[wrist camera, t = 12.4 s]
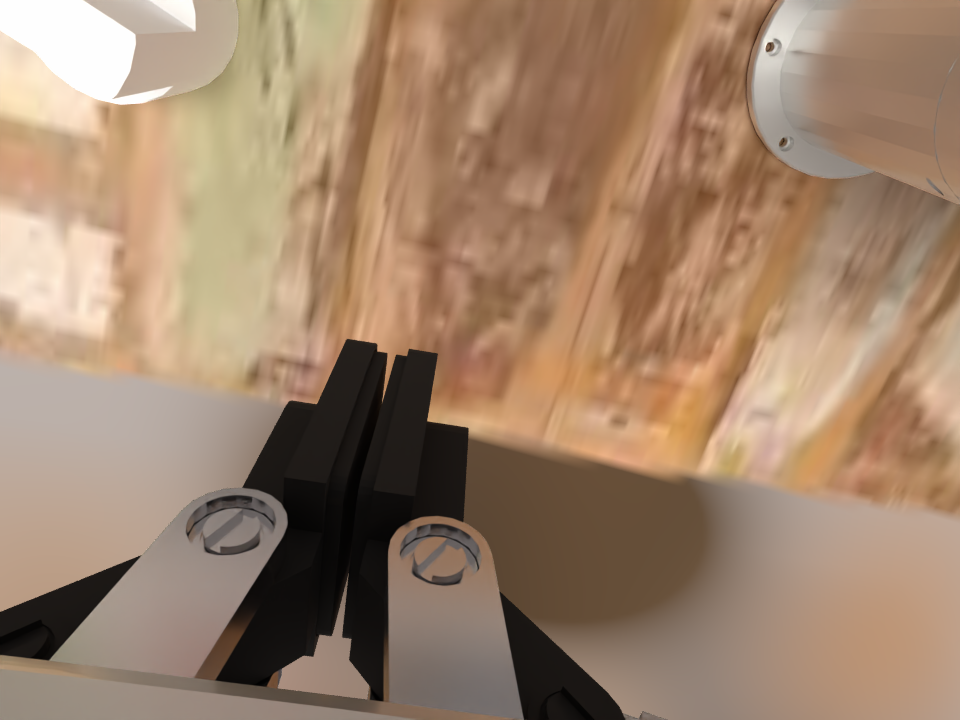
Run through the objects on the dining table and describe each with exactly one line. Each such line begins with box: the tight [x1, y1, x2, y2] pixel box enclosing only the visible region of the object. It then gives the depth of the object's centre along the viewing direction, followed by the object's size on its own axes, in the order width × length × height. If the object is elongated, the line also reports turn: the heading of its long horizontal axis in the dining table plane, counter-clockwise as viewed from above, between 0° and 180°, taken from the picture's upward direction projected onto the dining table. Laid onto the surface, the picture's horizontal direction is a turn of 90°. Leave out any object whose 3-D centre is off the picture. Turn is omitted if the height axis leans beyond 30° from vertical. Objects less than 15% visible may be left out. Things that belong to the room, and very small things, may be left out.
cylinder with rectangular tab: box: [0, 0, 239, 104], centre depth 31 cm, size 9×9×12 cm
